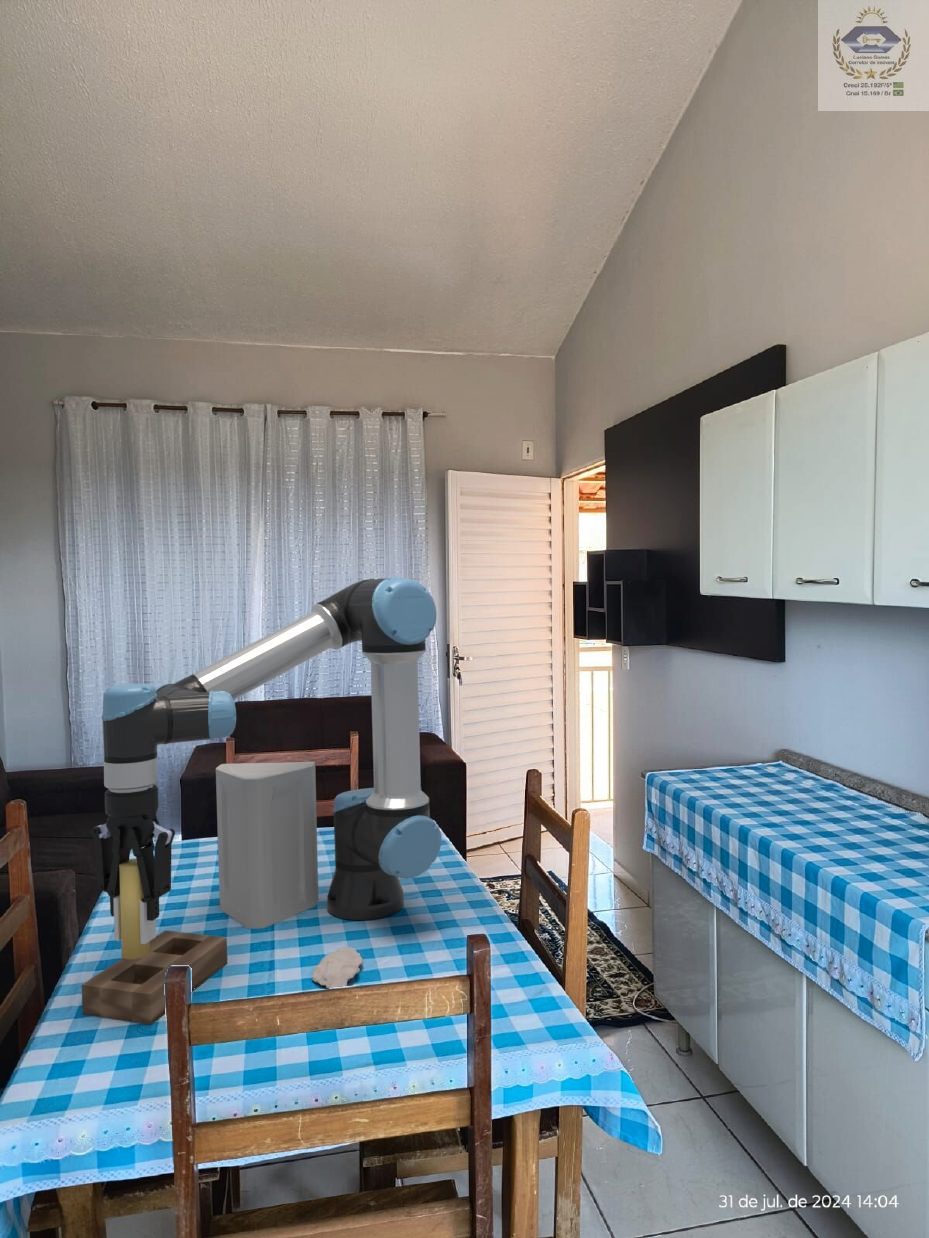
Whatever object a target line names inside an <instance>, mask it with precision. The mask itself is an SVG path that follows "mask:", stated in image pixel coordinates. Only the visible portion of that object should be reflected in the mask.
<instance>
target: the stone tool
mask: <svg viewBox="0 0 929 1238" xmlns="http://www.w3.org/2000/svg"><path fill="white" fill-rule="evenodd" d="M363 963H364V960H363V957H362V956H361V954H360V953H359V952H357V950H356V949H355V948H354V947H350V946H346V947H343V948H338V949H337V950H336V951H333V952H330V953H328V954H327V955H326V956H324V957H322V959H321V960H320V962H319V963H318V964H317V965H316V966H314V967H312V969H313V970H314V971H313V972H312V975H311V980H312V981H313V982H315V983H316V984H320V985H321V986H325V987H326V989H328V988H333V987H343V986H347V987H348V981H350V980H351V979H353V978H355V976H356V974H359V973H360V968H359V967H360V965H362V964H363Z"/></svg>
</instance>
